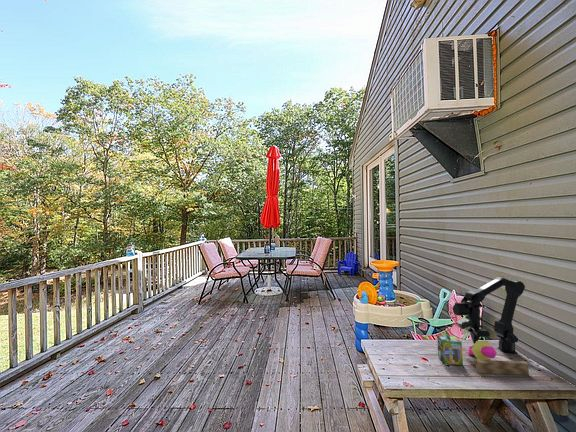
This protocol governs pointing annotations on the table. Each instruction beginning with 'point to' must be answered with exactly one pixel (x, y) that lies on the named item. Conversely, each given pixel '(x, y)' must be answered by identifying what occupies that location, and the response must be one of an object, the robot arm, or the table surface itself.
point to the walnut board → (502, 367)
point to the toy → (482, 350)
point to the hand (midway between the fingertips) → (474, 343)
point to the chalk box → (449, 349)
